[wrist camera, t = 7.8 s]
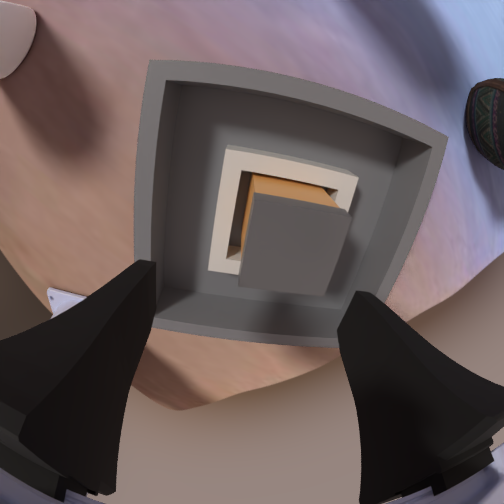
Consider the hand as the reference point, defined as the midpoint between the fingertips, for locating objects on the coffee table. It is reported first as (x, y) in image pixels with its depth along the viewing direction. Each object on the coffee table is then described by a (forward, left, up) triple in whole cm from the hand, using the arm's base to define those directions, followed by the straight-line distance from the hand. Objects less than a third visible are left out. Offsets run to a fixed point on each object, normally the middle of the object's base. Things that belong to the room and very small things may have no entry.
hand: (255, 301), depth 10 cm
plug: (+1, -2, -9) cm, 9 cm away
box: (0, -2, -9) cm, 10 cm away
